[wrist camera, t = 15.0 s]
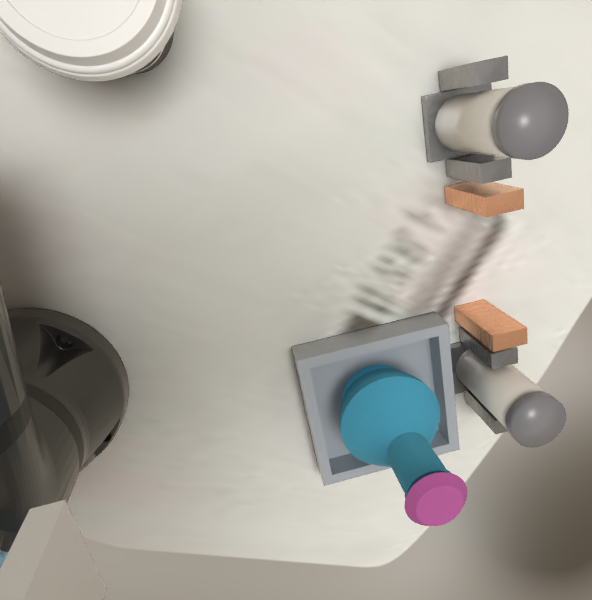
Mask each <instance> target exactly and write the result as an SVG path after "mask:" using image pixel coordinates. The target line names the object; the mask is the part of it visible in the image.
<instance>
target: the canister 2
mask: <svg viewBox="0 0 592 600" xmlns="http://www.w3.org/2000/svg"><path fill="white" fill-rule="evenodd" d="M456 373H457V376H458V378H459V380H460V381H461V382H462V383H463V384H464V385H465V386H466V387H467V388H468V389H469V390H470V391H471V392H472V393H473V394H474V395H475V396H476V397H477V399H478V400H479V401H480V402H481V403H482V404H483V405H484V406H485V407H486V408H487V409H488V410H489V411H490V412H491V413H492V414H493V415H494V416H495V417H496V418H497V419H498V421H499V422H500V423H501V424H502V425H503V426H504V427H505V428H506V429H507V431H508V432H509V434H510V435H511V436H512V437H513V438H514V439H515V440H516V441H517V442H518V443H519V444H520V445H522V446H525V447H539V446H542V445H545V444H547V443H549V442H550V441H552V440H553V439H554V438H555V437H556V436H557V435H558V434H559V433H560V432H561V430H562V429H563V426H564V424H565V421H566V412H565V408H564V406H563V405H562V404H561V403H560V402H559V401H558V400H556V399H555V398H554V397H553V396H552V395H550V394H548V393H546V392H545V391H543V390H542V389H541V388H540V387H539V386H537V385H536V384H535V383H534V382H532V381H531V380H530V379H529V378H528V377H526V376H525V375H524V374H523V373H521V372H520V371H519V370H518V369H516V368H515V367H514V366H513V365H507V366H504V367H500V368H496V369H491V368H490V367H489V366H488V365H486V364H485V363H484V362H483V361H482V360H481V359H480V358H479V357H477V356H476V355H475V354H474V353H473V352H472V351H471V350H470V349H468V350H467V351H465V352H464V353H463V354H462V355H461V357H460V358H459V360H458V362H457V366H456Z"/></svg>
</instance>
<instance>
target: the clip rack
mask: <svg viewBox="0 0 592 600" xmlns="http://www.w3.org/2000/svg"><path fill="white" fill-rule="evenodd" d="M438 75H439V88H440V91H446V90H451V91H446V92H441V93H437V94H432V95H427V96H422V97H421V99H422V110H423V121H424V131H425V142H426V152H427V162H435V161H440V160H444V159H445V162H446V174H447V177H451V178H455V179H460V180H465V181H467V182H462V183H458V184H453V185H449V186H444V190H445V202H446V204H448V205H451V206H454V207H457V208H460V209H463V210H466V211H469V212H472V213H475V214H478V215H481V216H484V217H490V216H494V215H498V214H503V213H507V212H511V211H515V210H520V209H524V189H523V188H518V187H513V186H508V185H503V184H498V183H493V182H494V181H498V180H502V179H507V178H511V177H512V171H511V157H505V156H496V155H486V154H476V153H471V152H462V151H453V150H450V149H448V148H446V147H444V146H443V145H442V144H441V142H440V141H439V139H438V137H437V135H436V130H435V121H436V117H437V114H438V111H439V109H440V108H441V106H442V105H443V104H444V103H445V102H446V101H447V100H448V99H449V98H451V97H453V96H455V95H459V94H466V93H473V92H481V91H488V90H492V89H491V82H496V81H501V80H505V79H508V56H503V57H498V58H493V59H489V60H484V61H479V62H474V63H470V64H466V65H462V66H458V67H454V68H450V69H446V70H442V71H439V72H438ZM459 88H460V89H459ZM452 89H456V90H452ZM454 310H455V321H456V322H457V323H459V324H460V325H461V326H462V327H459V334H460V342H458V343H454V344H450V349H451V360H452V371H453V382H454V393H455V394H458V393H461V392H464V396H465V401H466V402H467V403H468V404H469V405H470V406H471V408H472V409H473V410H474V411H475V412H476V413H477V414H478V415H479V416H480V417H481V419H482V420H483V421H484V422H485V423H486V424H487V425H488V426H489V427H490V429H491V430H492V431H493V432H494V433H495V434H499V433H502V432H506V431H507V429H506V428H505V427H504V426H503V425H502V424H501V423H500V422H499V421H498V419H497V418H496V417H495V416H494V415H493V414H492V413H491V412H490V411H489V410H488V409H487V408H486V407H485V406H484V405H483V404H482V403H481V402H480V401H479V400H478V399H477V397H476V396H475V395H474V394H473V393H472V392H471V391H470V390H469V389H468V388H467V387H466V386H465V385H464V384H463V383H462V382H461V381H460V380H459V378H458V376H457V373H456V366H457V362H458V360H459V358H460V357H461V355H462V354H463V353H464V352H465V351H467V350H468V349H470V350H471V351H472V352H473V353H474V354H475V355H476V356H477V357H479V358H480V359H481V360H482V361H483V362H484V363H485V364H486V365H488V366H489V367H490V368H491V369H496V368H500V367H504V366H507V365H511V364H515V363H518V349H517V347H516V346H519V345H523V344H527V327H526V326H524V325H522V324H521V323H519V322H518V321H516V320H515V319H513V318H512V317H510V316H509V315H507V314H506V313H504V312H502V311H501V310H499V309H498V308H496V307H495V306H493V305H492V304H490V303H489V302H487V301H486V300H484V299H483V300H479V301H475V302H471V303H467V304H463V305H459V306H455V307H454Z"/></svg>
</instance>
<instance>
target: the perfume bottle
mask: <svg viewBox="0 0 592 600" xmlns="http://www.w3.org/2000/svg"><path fill="white" fill-rule="evenodd" d="M439 422H440V406H439V402H438V400H437V397H436V395H435V394H434V393H433V391H432V390H431V389H430V388H429V387H428V386H427V385H426V384H425V383H423V382H422V381H421V380H420V379H418V378H416V377H414V376H412V375H410V374H408V373H404V372H401V371H399V370H396V369H394V368H392V367H390V366H386V365H373V366H369V367H366V368H364V369H362V370H360V371H358V372H357V373H356V374H354V375H353V376H352V377H351V378H350V380H349V381H348V382H347V384H346V386H345V388H344V391H343V396H342V406H341V411H340V418H339V426H340V431H341V435H342V439H343V442H344V444H345V446H346V448H347V449H348V450H349V452H350V453H351V454H352V455H353V456H355V457H356V458H357V459H359V460H361V461H363V462H365V463H368V464H373V465H378V466H386V467H392V469H393V471H394V473H395V475H396V477H397V479H398V481H399V483H400V485H401V487H402V488H403V490H404V492H405V511H406V513H407V515H408V517H409V518H410V519H411V520H412V521H414V522H415V523H418V524H420V525H425V526H438V525H443V524H446V523H448V522H450V521H451V520H452V519H454V518H455V517H456V516H457V515H458V514H459V513H460V511H461V509H462V508H463V506H464V504H465V502H466V498H467V487H466V485H465V483H464V481H463V480H462V479H461V478H460V477H458V476H457V475H454V474H452V473H451V472H449V471H448V470H446V468H445V467H444V465H443V464H442V462H441V461H440V459H439V458H438V456H437V455H436V453H435V452H434V450H433V449H432V447H431V446H430V445H431V443H432V440H433V439H434V437H435V434H436V431H437V428H438V425H439Z"/></svg>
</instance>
